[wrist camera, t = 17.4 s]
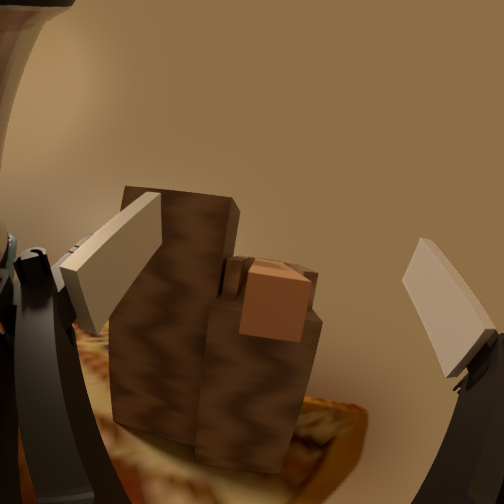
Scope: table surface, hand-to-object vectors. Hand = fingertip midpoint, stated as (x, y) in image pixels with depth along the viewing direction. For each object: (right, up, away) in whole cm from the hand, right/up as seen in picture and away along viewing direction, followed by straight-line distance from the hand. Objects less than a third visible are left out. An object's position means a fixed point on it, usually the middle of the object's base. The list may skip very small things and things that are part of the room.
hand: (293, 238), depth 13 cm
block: (0, -6, +16) cm, 17 cm away
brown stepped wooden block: (-9, -25, +22) cm, 34 cm away
